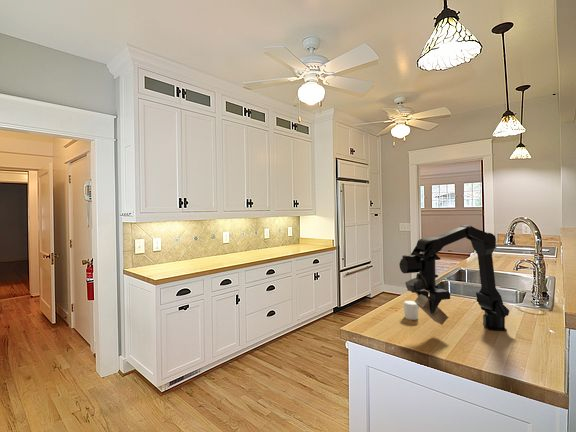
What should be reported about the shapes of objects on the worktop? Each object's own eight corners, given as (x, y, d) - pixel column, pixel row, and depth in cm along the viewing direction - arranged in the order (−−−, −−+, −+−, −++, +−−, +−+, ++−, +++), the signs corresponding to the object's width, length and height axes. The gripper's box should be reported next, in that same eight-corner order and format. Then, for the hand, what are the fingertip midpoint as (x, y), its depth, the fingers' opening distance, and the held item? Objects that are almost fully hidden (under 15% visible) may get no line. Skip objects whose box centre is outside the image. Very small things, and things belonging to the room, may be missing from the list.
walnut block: (439, 312, 123) (420, 293, 122) (448, 317, 118) (428, 297, 117) (433, 320, 123) (414, 301, 121) (442, 325, 118) (421, 305, 116)
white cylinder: (421, 320, 135) (420, 305, 135) (404, 319, 136) (404, 304, 136) (417, 315, 142) (417, 300, 142) (402, 314, 143) (401, 299, 143)
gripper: (395, 268, 127) (396, 305, 127) (423, 278, 108) (424, 322, 109) (419, 266, 129) (420, 302, 129) (451, 276, 110) (451, 318, 111)
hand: (427, 310), depth 120 cm, fingers closed on walnut block, 5 cm apart
